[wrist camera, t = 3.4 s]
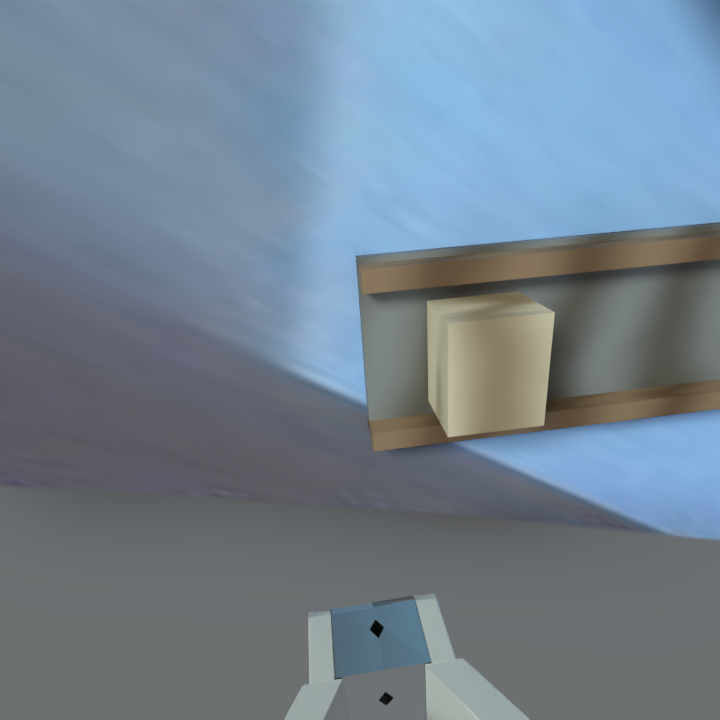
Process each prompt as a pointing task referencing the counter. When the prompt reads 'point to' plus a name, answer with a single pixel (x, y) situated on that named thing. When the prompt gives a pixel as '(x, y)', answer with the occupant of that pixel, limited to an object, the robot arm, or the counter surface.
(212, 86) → the counter surface
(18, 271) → the counter surface
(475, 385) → the birch block
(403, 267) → the chute
